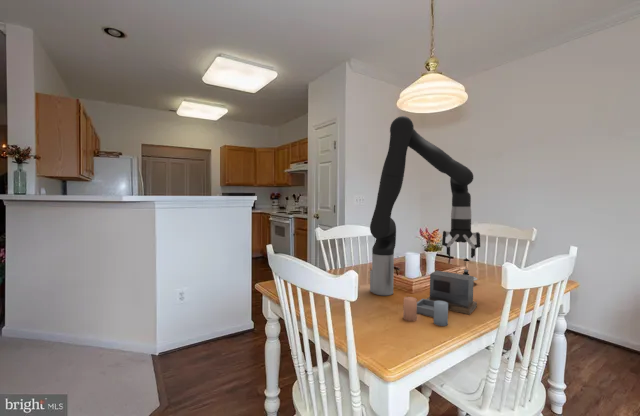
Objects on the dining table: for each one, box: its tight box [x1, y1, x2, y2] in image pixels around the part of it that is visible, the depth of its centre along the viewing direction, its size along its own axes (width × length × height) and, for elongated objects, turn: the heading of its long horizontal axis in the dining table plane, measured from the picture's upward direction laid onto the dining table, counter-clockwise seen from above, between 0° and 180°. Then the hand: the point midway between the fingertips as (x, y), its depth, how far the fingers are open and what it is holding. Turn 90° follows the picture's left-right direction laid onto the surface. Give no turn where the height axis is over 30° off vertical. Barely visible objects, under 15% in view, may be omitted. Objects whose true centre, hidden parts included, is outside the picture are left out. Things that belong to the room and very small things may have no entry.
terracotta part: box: [402, 296, 418, 322], centre depth 107 cm, size 4×4×7 cm
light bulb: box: [462, 258, 478, 284], centre depth 149 cm, size 12×10×10 cm
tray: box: [417, 298, 434, 318], centre depth 113 cm, size 10×10×2 cm
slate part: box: [433, 300, 449, 327], centre depth 103 cm, size 4×4×7 cm
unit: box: [426, 270, 478, 316], centre depth 119 cm, size 16×10×12 cm, turn 50°
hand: (460, 256), depth 127 cm, fingers open, 8 cm apart
